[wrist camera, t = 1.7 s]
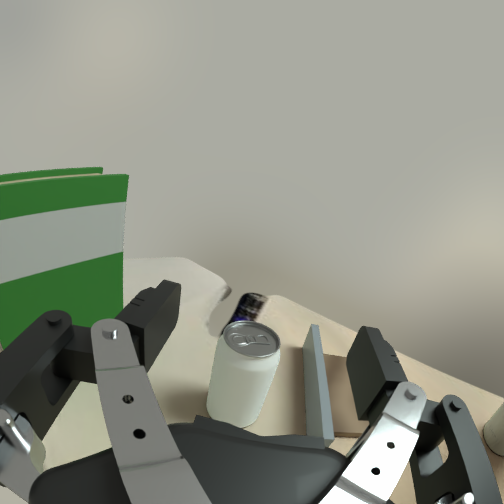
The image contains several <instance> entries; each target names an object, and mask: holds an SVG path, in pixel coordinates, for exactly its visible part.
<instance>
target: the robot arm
mask: <svg viewBox="0 0 504 504" xmlns="http://www.w3.org/2000/svg"><path fill="white" fill-rule="evenodd" d="M180 295H181V284H179V283H175V282H171V281H168V280H163V281H162V282H161V283H160V284H159V285H158V286H157V287H156V288H152V287H149V288H147V289H145V290H142V291H140V292H139V293H138V294H137V295H136V296H135V298H133V299H132V301H131V302H130V303H129V304H128V305H127V306H126V307H125V308H124V309H123V310H122V311H121V312H120V313H119V314H118V315H117V316H116V317H115V318H114V319H102V320H99V321H97V322H96V323H94V324H93V326H92V327H84V326H78V325H73V323H72V318H71V316H70V315H69V314H68V313H67V312H65V311H62V310H50V311H47V312H45V313H43V314H42V315H41V316H39V317H38V318H37V319H36V320H35V321H34V322H33V323H32V324H31V325H29V326H28V327H27V328H26V329H25V330H24V331H23V332H22V333H21V334H20V335H19V336H18V337H17V338H16V339H15V340H14V341H12V342H11V343H10V344H9V345H8V346H7V347H6V348H5V349H4V350H3V351H2V352H1V353H0V485H1V486H3V487H7V488H9V489H10V490H11V491H13V492H14V493H15V494H17V495H18V496H19V497H21V498H22V499H24V500H25V501H26V502H28V503H29V504H394V503H393V502H392V501H391V500H390V499H389V496H390V494H391V492H392V491H393V489H394V487H395V485H396V483H397V481H398V480H399V478H400V476H401V474H402V472H403V470H404V468H405V466H406V463H407V461H408V459H409V462H410V467H411V472H412V478H413V483H414V489H415V495H416V502H417V504H503V503H502V499H501V495H500V492H499V488H498V485H497V482H496V479H495V476H494V473H493V470H492V467H491V464H490V461H489V458H488V456H487V453H486V450H485V448H484V445H483V443H482V440H481V438H480V435H479V433H478V431H477V428H476V426H475V424H474V421H473V419H472V417H471V415H470V413H469V410H468V408H467V406H466V404H465V403H464V402H463V400H461V399H460V398H459V397H457V396H455V395H446V396H445V397H444V398H443V399H442V400H441V402H440V403H438V402H434V401H431V400H427V397H426V394H425V392H424V391H423V389H422V388H421V387H419V386H418V385H416V384H414V383H412V382H408V380H407V377H406V375H405V373H404V371H403V368H402V366H401V364H400V363H399V360H398V358H397V357H396V356H397V355H396V353H395V351H394V349H393V348H392V346H391V345H390V344H389V343H388V342H387V341H385V340H384V339H383V337H382V335H381V333H380V331H379V329H377V328H372V327H366V326H362V327H361V328H360V330H359V332H358V334H357V336H356V338H355V340H354V342H353V344H352V346H351V348H350V350H349V352H348V355H347V359H346V367H347V372H348V376H349V380H350V385H351V389H352V394H353V398H354V403H355V408H356V412H357V417H358V420H359V421H369V425H368V426H367V427H366V429H365V430H364V431H363V433H362V434H361V436H360V437H359V438H358V440H357V441H356V443H355V444H354V445H353V447H352V448H351V449H350V451H349V452H348V453H347V455H346V456H344V455H342V454H341V453H339V452H337V451H335V450H333V449H331V448H328V447H325V444H324V437H313V436H303V435H281V436H259V435H256V434H253V433H251V432H248V431H246V430H244V429H241V428H239V427H237V426H234V425H232V424H230V423H227V422H222V421H218V420H214V419H210V418H207V417H203V416H199V415H196V417H195V420H194V423H174V424H168V425H167V424H166V421H165V419H164V417H163V414H162V412H161V409H160V407H159V405H158V402H157V400H156V397H155V395H154V392H153V389H152V387H151V384H150V381H149V379H148V376H147V373H148V371H149V369H150V368H151V366H152V364H153V363H154V361H155V359H156V358H157V356H158V354H159V353H160V351H161V349H162V348H163V346H164V344H165V343H166V341H167V339H168V338H169V336H170V335H171V333H172V331H173V330H174V328H175V326H176V323H177V320H178V315H179V305H180ZM80 381H83V382H89V383H94V384H97V385H98V390H99V395H100V400H101V405H102V409H103V414H104V418H105V422H106V426H107V430H108V434H109V438H110V441H111V445H112V448H109V449H106V450H104V451H101V452H99V453H96V454H93V455H90V456H88V457H85V458H82V459H79V460H76V461H73V462H70V463H67V464H64V465H60V466H57V467H54V468H51V469H48V470H46V471H44V472H43V463H44V460H45V456H46V451H45V447H44V445H43V443H42V440H43V438H44V437H45V435H46V433H47V432H48V430H49V429H50V427H51V425H52V424H53V422H54V421H55V419H56V417H57V416H58V414H59V413H60V411H61V410H62V408H63V407H64V405H65V404H66V402H67V401H68V399H69V398H70V396H71V395H72V393H73V392H74V390H75V389H76V387H77V386H78V384H79V383H80ZM484 438H485V440H486V443H487V444H488V446H489V447H490V449H491V450H492V451H493V452H495V453H496V454H498V455H501V456H504V403H503V404H502V405H501V406H500V408H499V409H498V410H497V411H496V412H495V414H494V415H493V416H492V417H491V418H490V420H489V421H488V422H487V423H486V424H485V426H484ZM444 439H445V442H446V445H447V448H448V451H449V455H448V458H447V460H446V462H445V463H444V464H443V461H442V458H441V454H440V451H439V448H438V445H439V444H440V443H441V442H442V441H443V440H444Z"/></svg>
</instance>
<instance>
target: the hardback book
mask: <svg viewBox="0 0 504 504" xmlns="http://www.w3.org/2000/svg"><path fill="white" fill-rule="evenodd" d="M102 172H103V168H102V167H86V168H67V169H53V170H40V171H30V172H20V173H12V174H3V175H0V342H1V345H2V347H3V350H4V349H5V348H6V347H7V346H8V345H9V344H10V343H11V342H12V341H14V340H15V339H16V338H17V337H18V336H19V335H20V334H21V333H22V332H23V331H24V330H25V329H26V328H27V327H28V326H29V325H31V324H32V323H33V322H34V321H35V320H36V319H37V318H38V317H39V316H41V315H42V314H43V313H45V312H47V311H50V310H62V311H65V312H67V313H68V314H69V315H70V316H71V318H72V323H73V325H78V326H84V327H92V326H93V324H94V323H96V322H97V321H99V320H102V319H114V318H115V317H116V316H117V315H118V314H119V313H120V312H121V311H122V310H123V241H124V223H125V210H126V197H127V188H128V179H129V175H126V174H112V175H111V174H110V175H102Z"/></svg>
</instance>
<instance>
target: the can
mask: <svg viewBox="0 0 504 504" xmlns="http://www.w3.org/2000/svg"><path fill="white" fill-rule="evenodd" d="M279 348H280V339H279V337H278V335H277V334H276V333H275V332H274V331H273V330H272V329H271V328H269V327H267V326H265V325H263V324H261V323H257V322H253V321H237V322H233V323H231V324H229V325H228V326H227V327H226V328H225V329H224V332H223V335H222V336H221V337H220V338H219V340H218V343H217V346H216V351H215V357H214V362H213V367H212V373H211V379H210V385H209V390H208V396H207V404H206V406H207V411H208V413H209V415H210V416H211V418H212V419H214V420H218V421H222V422H227V423H230V424H232V425H234V426H237V427H239V428H243V427H246V426H249V425H251V424H252V423H253V422H254V421H255V420H256V419H257V417H258V415H259V413H260V410H261V408H262V405H263V403H264V400H265V398H266V395H267V393H268V390H269V388H270V385H271V382H272V380H273V377H274V374H275V372H276V369H277V366H278V363H279V360H280V349H279Z"/></svg>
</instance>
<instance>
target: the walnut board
mask: <svg viewBox="0 0 504 504" xmlns="http://www.w3.org/2000/svg"><path fill="white" fill-rule="evenodd" d="M323 357H324V363H325V370H326V377H327V384H328V391H329V398H330V406H331V414H332V423H333V431H334V436H341V437H360V436H361V434H362V433H363V431H364V430H365V429H366V427H367V426H368V425H369V421H359V420H358V417H357V412H356V408H355V403H354V398H353V394H352V389H351V385H350V380H349V376H348V372H347V367H346V359H347V357H341V356H335V355H328V354H323Z"/></svg>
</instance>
